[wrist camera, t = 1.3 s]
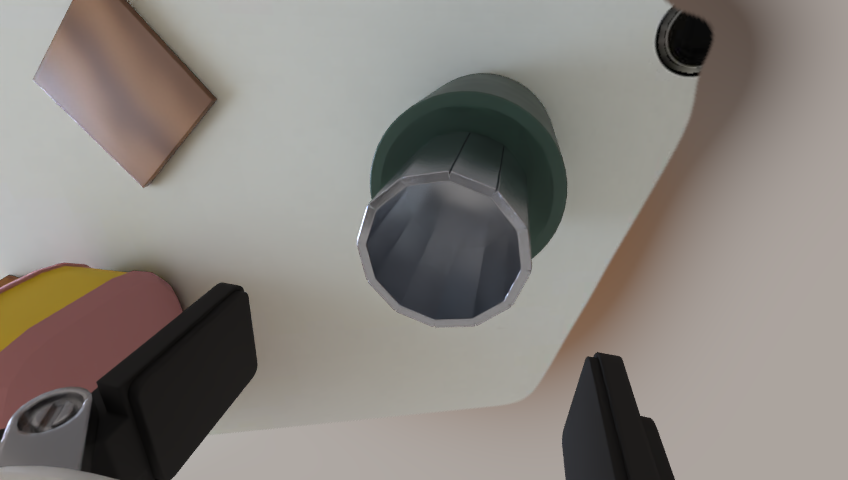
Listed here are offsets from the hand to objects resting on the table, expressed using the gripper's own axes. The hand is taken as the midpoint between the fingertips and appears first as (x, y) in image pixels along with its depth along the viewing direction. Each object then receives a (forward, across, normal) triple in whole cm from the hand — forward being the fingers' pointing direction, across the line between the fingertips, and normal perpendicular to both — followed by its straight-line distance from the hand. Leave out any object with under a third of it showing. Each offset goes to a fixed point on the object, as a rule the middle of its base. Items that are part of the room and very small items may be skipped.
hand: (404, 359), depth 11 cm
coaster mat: (+22, +30, -2) cm, 37 cm away
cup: (+12, 0, 0) cm, 12 cm away
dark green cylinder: (+22, 0, -1) cm, 22 cm away
